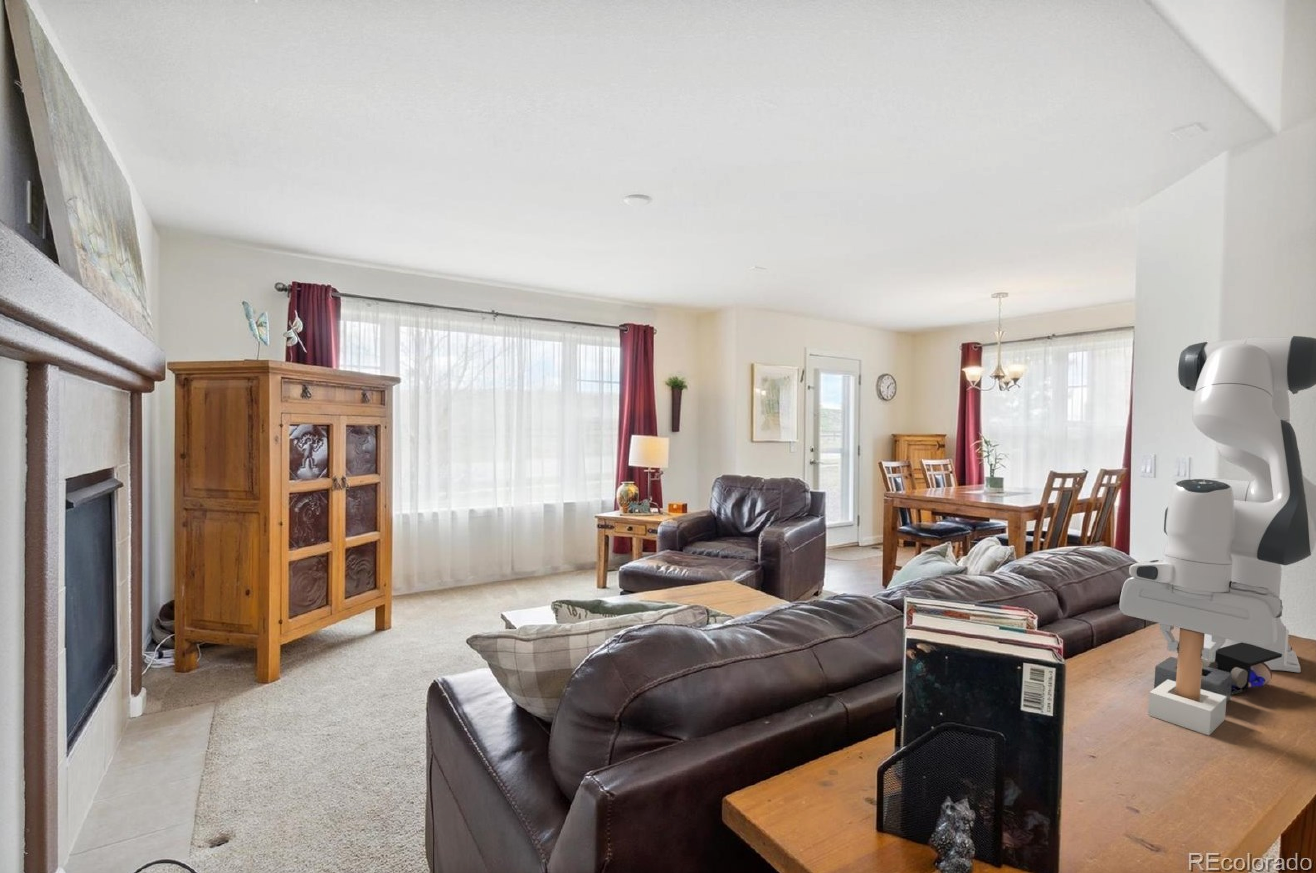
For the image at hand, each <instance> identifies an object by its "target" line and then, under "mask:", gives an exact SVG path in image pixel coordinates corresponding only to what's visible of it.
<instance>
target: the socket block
mask: <svg viewBox="0 0 1316 873" xmlns="http://www.w3.org/2000/svg"><path fill="white" fill-rule="evenodd" d="M1175 690H1176V682H1175V681H1172V680H1166V681H1165V682H1163V683H1162V684H1160V685H1159V686H1158V687H1156V688H1155V689H1154V688H1153V689H1152V690H1150V691H1148V692H1149V694H1148V696H1149V697H1148V706H1147V707H1148V708H1147V715H1148V716H1149V717H1152V718H1156V719H1159V720H1161V721H1164V722H1168V723H1171V724H1174V725H1175V726H1176V725H1177V726H1179V727H1182V728H1185V729H1188V730H1192V731H1194V732H1197V733H1200V734H1203V735H1205V736H1210V735H1211V734H1212V733H1213V732H1215V730H1216V729H1217V728H1218V727H1219V726H1220V725H1221V724H1222V723H1223V722H1224V721H1225V720H1226V712H1227V711H1226V709H1227V704H1226V698H1227V696H1223V695H1220V694H1216V693H1213V692H1209V691H1206V690H1203V689H1201V690H1200V702H1197V701H1194V700H1190V699H1187V698H1184V697H1181V696H1177V695H1175Z"/></svg>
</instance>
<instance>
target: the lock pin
mask: <svg viewBox="0 0 1316 873" xmlns="http://www.w3.org/2000/svg"><path fill="white" fill-rule="evenodd" d="M1204 636H1205V634H1204V633H1200V632H1196V631H1192V630H1187V629H1183V628H1179V638H1178V641H1179V648H1178V653H1177V659H1178V662H1177V676H1176V690H1175V695H1177V696H1181V697H1184V698H1187V699H1190V700H1194V701H1197V702H1200V690H1201V677H1202V663H1203V660H1202V659H1201V656H1202V649H1204Z"/></svg>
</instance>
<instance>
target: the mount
mask: <svg viewBox="0 0 1316 873" xmlns="http://www.w3.org/2000/svg"><path fill="white" fill-rule="evenodd" d="M1177 662H1178V657H1173V656H1169V657H1168V658H1166V659H1165V660H1163V661H1162V662H1160V663H1158V664H1156V665H1155V669H1154V681H1153V683H1154V684H1153V689H1155V688H1156V687H1158V686H1159V685H1160V684H1162V683H1163V682H1165V681H1166V680H1172V681H1175V682H1176V676H1177ZM1231 683H1232V673H1230V672H1226V671H1222V670H1218V669H1215V668H1211V667H1207V666H1203V665H1202V677H1201V689H1203V690H1206V691H1209V692H1213V693H1216V694H1220V695H1223V696H1227V698H1226V705H1227V704H1228V703H1229V702H1230V701H1231V697H1232V696H1231V695H1232V694H1231V692H1232V689H1231Z"/></svg>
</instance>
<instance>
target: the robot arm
mask: <svg viewBox="0 0 1316 873" xmlns="http://www.w3.org/2000/svg"><path fill="white" fill-rule="evenodd" d="M1175 368H1176V369H1175V371H1176V376H1177V378H1178V381H1179V384H1180V386H1181V387H1183V388H1184V389H1186V390H1188V391H1191V392H1194V393H1193V399H1192V405H1191V406H1192V407H1191V418H1192V423H1193V424H1194V425H1195V427H1196V428H1197V429H1198V430H1199V431H1200V432H1201V434H1203V435H1205V436H1206V437H1207V438H1209V439H1211V440H1212V441H1214V442H1217V446H1216V448H1217V452H1218V454H1220V456H1221V457H1222V458H1223V459H1224V460H1226V461H1227V462H1229V463H1231V464H1232V465H1236V466H1238V467H1239V468H1242V469H1244V470H1246V471H1247V472H1249V474H1251V476H1252V477H1253V480H1243V479H1241V480H1240V479H1228V478H1215V477H1208V478H1193V479H1183V480H1180V481H1176V482H1175V483H1174V484H1173V486H1172V490H1171V493H1170V495H1169V496H1170V497H1169V501H1168V506H1167V507H1166V509H1165V511H1164V522H1163V531H1164V534H1166V536H1167V543H1166V545H1165V548H1164V552H1163V558H1162V559H1160V560H1158V559H1155V560H1150V561H1149V560H1147V561H1139V562H1136V563H1133V564H1132V565H1130V566H1129V570H1128V572H1129V573H1128V574H1129V575H1130V576H1131V577H1129V578H1127V579H1126V580H1125V581H1124V583H1123V584H1122V588H1121V593H1120V597H1119V605H1118V606H1119V609H1120V611H1121V612H1122V614H1123V615H1125V616H1129V617H1133V618H1138V619H1141V620H1144V621H1150V622H1153V623H1158V624H1160V626H1159V630H1160V632H1161V634H1162V635H1163V637H1164V639H1165V640H1166V641H1167V642H1166V651H1168V652H1172V653H1177V654H1178V648H1179V640H1176V639H1175V637H1174V635H1173V633H1172V630H1174V629H1175V628H1179V629H1180V628H1183V629H1187V630H1192V631H1196V632H1200V633H1204V634H1205V636H1204V649H1202V656H1201V659H1202V660H1206V661H1210V662H1214V661H1215V656H1216V651H1217V650H1218V649H1219V648H1223V647H1227V646H1230V645H1234V644H1238V643H1241V642H1243V643H1247V644H1251V645H1255V646H1258V647H1261V648H1264V649H1268V650H1271V651H1274V652H1277V653H1280V654H1282V657H1280V658H1277V659H1273V660H1270V661H1267V662H1264V663H1265V664H1266V665H1267V666H1268V667H1269V668H1270V669H1271V671H1284V672H1285V671H1286V672H1292V673H1293V672H1294V673H1301V672H1302V670H1301V669H1302V668H1301V665H1300V663H1299V659H1298V657H1297V654H1296V651H1294V650H1293V647H1292V645H1289V629H1287V626H1286V625H1284V622H1283V621H1282V619H1281V617H1282V616H1283V609H1284V608H1283V607H1284V605H1283V601H1282V599H1281V598H1280V595H1281V584H1282V583H1281V581H1282V570H1283V569H1282V565H1283V566H1284V567H1285V566H1288V565H1289V566H1290V565H1292V564H1295V563H1296V564H1297V563H1298V562H1300V561H1303V560H1305V559H1306V558H1308V557H1310V556H1312V553H1313V551H1314V549H1315V546H1316V485H1315V484H1314V483H1312V482H1311V481H1310V480H1309V479H1307V478H1306V477H1305V475H1304V474H1303V466H1302V460H1301V454H1300V449H1299V447H1298V441H1297V436H1296V432H1295V430H1294V428H1293V426H1292V424H1291V423H1290V420H1291V419H1290V416H1291V415H1290V414H1291V410H1290V408H1291V407H1290V397H1289V392H1291V393H1292V395H1295V394H1298V393H1299V392H1300V391H1304V390H1308V389H1311V388H1312V387H1313V386H1316V338H1315V337H1311V336H1299V335H1293V336H1292V337H1283V336H1279V337H1278V336H1256V337H1255V336H1253V337H1247V338H1238V339H1227V340H1222V341H1214V342H1207V341H1205V342H1204V341H1203V342H1198V343H1194V344H1190V345H1188V346H1187V347H1186V348H1185V349H1183V350H1182V351H1181V353H1180V355H1179V358H1178V360H1177V362H1176V366H1175Z"/></svg>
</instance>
